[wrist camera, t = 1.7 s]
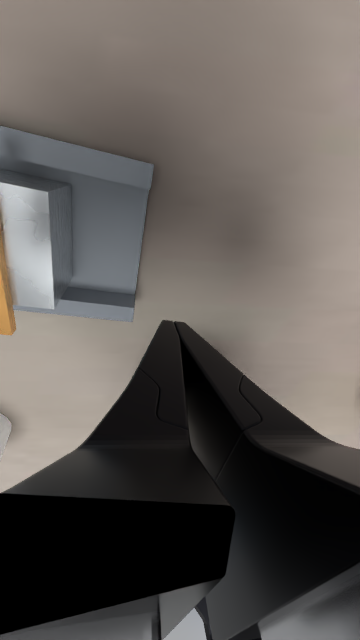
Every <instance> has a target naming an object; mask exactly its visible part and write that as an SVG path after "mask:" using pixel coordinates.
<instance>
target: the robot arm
mask: <svg viewBox="0 0 360 640" xmlns="http://www.w3.org/2000/svg"><path fill="white" fill-rule="evenodd" d="M193 608H195V609H196V611H197V612H198V614H199V615H200V617H201V618H202V620H203V622H204V628H205V633H206V638H207V640H360V449H355V448H351V447H347V446H344V445H341V444H338V443H336V442H334V441H331V440H329V439H328V438H326V437H324V436H322V435H321V434H319V433H318V432H316V431H315V430H314V429H312V428H311V427H310V426H308V425H307V424H306V423H304V422H303V421H302V420H300V419H299V418H298V417H296V416H295V415H294V414H292V413H291V412H290V411H288V410H287V409H286V408H285V407H283V406H282V405H281V404H279V403H278V402H277V401H275V400H274V399H273V398H271V397H270V396H269V395H268V394H266V393H265V392H264V391H263V390H261V389H260V388H259V387H258V386H257V385H256V384H254V383H253V382H252V381H251V380H250V379H249V378H247V377H246V376H245V375H243V373H242V372H241V371H239V370H238V369H237V368H236V367H235V366H234V365H233V364H231V363H230V362H229V361H228V360H227V359H226V358H225V357H223V356H222V355H221V354H220V353H219V352H218V351H217V350H215V349H214V348H213V347H212V346H211V345H210V344H209V343H207V342H206V341H205V340H204V339H203V338H202V337H201V336H200V335H198V334H197V333H196V332H195V331H194V330H193V329H192V328H190V327H189V326H188V325H187V324H186V323H184V322H177V321H175V322H173V321H168V320H162V322H161V324H160V326H159V328H158V329H157V331H156V333H155V335H154V337H153V339H152V341H151V343H150V345H149V347H148V349H147V351H146V353H145V354H144V356H143V358H142V360H141V362H140V364H139V366H138V368H137V370H136V371H135V373H134V375H133V377H132V379H131V380H130V382H129V384H128V386H127V387H126V389H125V390H124V391H123V393H122V394H121V396H120V397H119V399H118V400H117V401H116V402H115V404H114V405H113V406H112V408H111V409H110V410H109V412H108V413H107V414H106V415H105V417H104V418H103V419H102V421H101V422H100V423H99V424H98V426H97V427H96V428H95V430H94V431H93V432H92V433H91V435H90V436H89V437H88V438H87V439H86V440H85V441H84V442H83V443H82V444H81V445H80V446H79V447H78V448H77V449H75V450H74V451H72V452H71V453H69V454H67V455H66V456H64V457H62V458H61V459H59V460H57V461H56V462H54V463H52V464H51V465H49V466H47V467H45V468H44V469H42V470H40V471H39V472H37V473H35V474H34V475H32V476H30V477H29V478H27V479H25V480H24V481H22V482H20V483H18V484H17V485H15V486H13V487H12V488H10V489H8V490H6V491H4V492H2V493H0V640H163V639H164V638H165V637H166V636H167V635H168V634H169V633H170V632H171V631H172V630H173V629H174V628H175V627H176V625H178V624H179V623H180V622H181V621H182V619H183V618H184V617H185V616H186V615H187V614H188V613H189V612H190V611H191V610H192V609H193Z"/></svg>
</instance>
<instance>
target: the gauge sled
mask: <svg viewBox="0 0 360 640" xmlns="http://www.w3.org/2000/svg"><path fill="white" fill-rule="evenodd" d="M71 280H72V213H71V184H67V183H63V182H58V181H54V180H49V179H44V178H40V177H35V176H31V175H26V174H21V173H17V172H12V171H8V170H3V169H0V334H3V335H12V334H13V333H14V331H15V330H16V324H15V318H14V311H13V305H17V306H27V307H36V308H45V309H55V308H56V306H57V304H58V302H59V301H60V299H61V297H62V295H63V294H64V292H65V290H66V288H67V287H68V285H69V283H70V282H71Z"/></svg>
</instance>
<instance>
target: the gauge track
mask: <svg viewBox="0 0 360 640" xmlns="http://www.w3.org/2000/svg"><path fill="white" fill-rule="evenodd" d="M153 168H154V164H150V163H146V162H142V161H138V160H134V159H130V158H126V157H122V156H118V155H114V154H110V153H106V152H102V151H98V150H94V149H90V148H87V147H83V146H79V145H75V144H71V143H67V142H63V141H59V140H55V139H51V138H47V137H43V136H39V135H35V134H31V133H27V132H23V131H19V130H16V129H12V128H8V127H4V126H0V169H3V170H8V171H12V172H17V173H21V174H26V175H31V176H35V177H40V178H44V179H49V180H54V181H58V182H63V183H67V184H71V213H72V280H71V282H70V283H69V285H68V287H67V288H66V290H65V292H64V294H63V295H62V297H61V299H60V301H59V302H58V304H57V306H56V308H55V309H45V308H36V307H27V306H17V305H13V310H19V311H29V312H39V313H49V314H58V315H68V316H78V317H88V318H97V319H107V320H117V321H126V322H133V315H134V305H135V290H136V283H137V275H138V268H139V260H140V253H141V245H142V238H143V230H144V223H145V215H146V208H147V200H148V193H149V189H150V190H151V182H152V175H153Z"/></svg>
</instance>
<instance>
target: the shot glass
mask: <svg viewBox="0 0 360 640" xmlns="http://www.w3.org/2000/svg"><path fill="white" fill-rule="evenodd" d="M11 426H12V424H11V422H10V421H9V419H8V418H7V417H6V416H4V415H3V414H1V413H0V460H1V457H2V454H3V452H4V449H5V446H6V443H7V440H8V438H9V435H10V432H11Z"/></svg>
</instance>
